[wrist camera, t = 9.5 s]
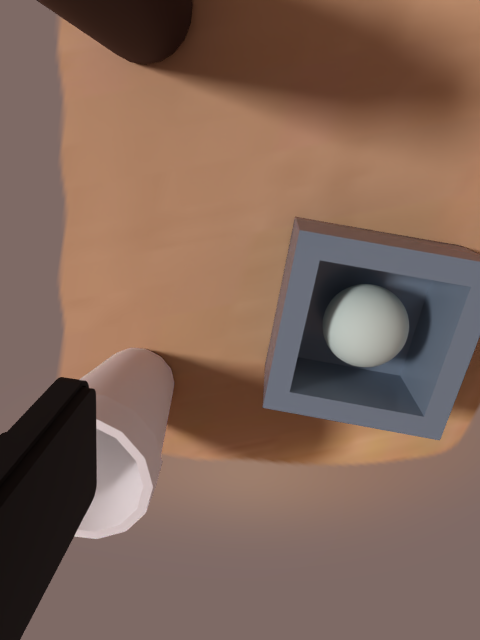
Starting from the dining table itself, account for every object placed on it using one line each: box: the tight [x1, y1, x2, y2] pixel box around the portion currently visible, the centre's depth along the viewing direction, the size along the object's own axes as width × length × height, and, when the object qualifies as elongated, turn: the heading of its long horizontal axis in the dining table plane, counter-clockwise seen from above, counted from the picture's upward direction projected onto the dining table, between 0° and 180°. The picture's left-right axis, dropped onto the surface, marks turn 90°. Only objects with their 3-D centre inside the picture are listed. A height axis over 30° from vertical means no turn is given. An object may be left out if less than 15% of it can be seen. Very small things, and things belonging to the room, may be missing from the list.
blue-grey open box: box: [263, 217, 480, 440], centre depth 32 cm, size 13×13×7 cm
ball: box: [322, 284, 409, 367], centre depth 32 cm, size 6×6×6 cm
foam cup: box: [74, 348, 174, 539], centre depth 33 cm, size 10×9×13 cm
